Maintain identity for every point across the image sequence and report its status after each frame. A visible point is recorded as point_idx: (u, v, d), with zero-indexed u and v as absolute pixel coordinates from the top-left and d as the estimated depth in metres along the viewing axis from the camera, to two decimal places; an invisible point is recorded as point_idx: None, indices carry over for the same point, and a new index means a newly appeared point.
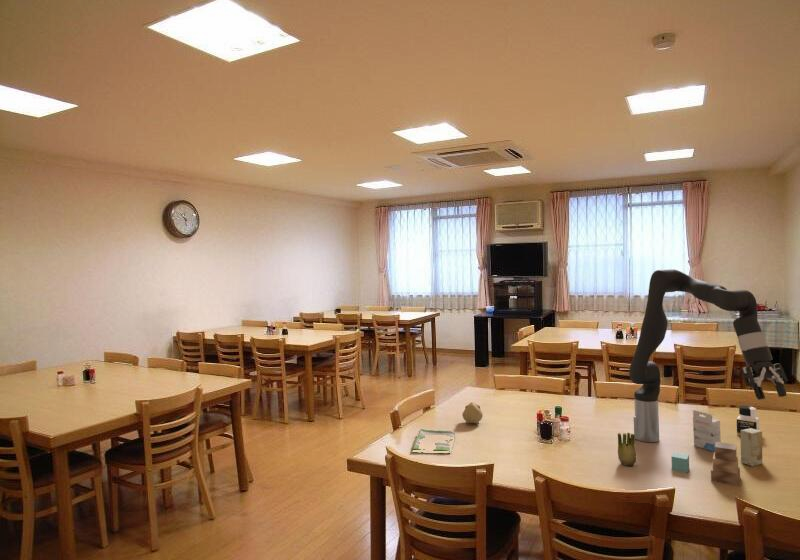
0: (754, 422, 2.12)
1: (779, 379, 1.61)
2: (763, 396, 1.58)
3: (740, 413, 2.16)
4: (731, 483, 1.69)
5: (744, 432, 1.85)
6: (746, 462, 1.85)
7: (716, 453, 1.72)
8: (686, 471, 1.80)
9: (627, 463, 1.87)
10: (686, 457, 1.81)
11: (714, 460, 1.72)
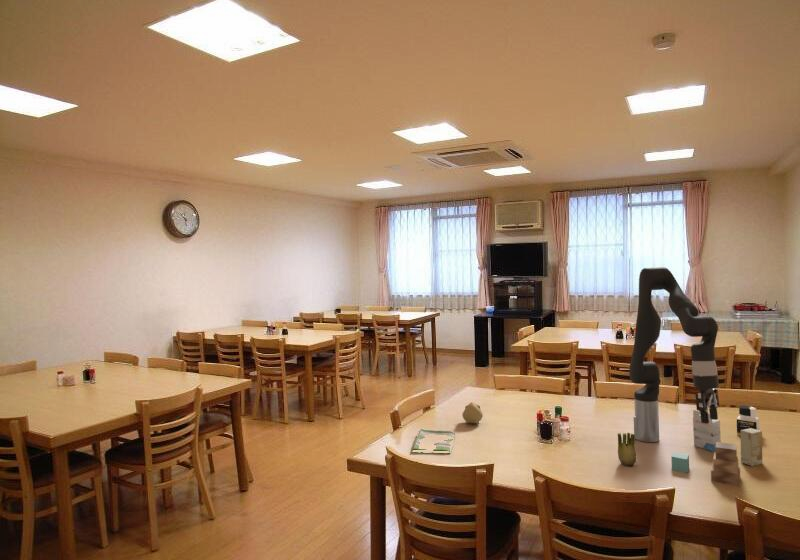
0: (754, 422, 2.12)
1: (716, 404, 1.75)
2: (708, 421, 1.69)
3: (740, 413, 2.16)
4: (731, 483, 1.69)
5: (744, 432, 1.85)
6: (746, 462, 1.85)
7: (717, 453, 1.72)
8: (686, 471, 1.80)
9: (627, 463, 1.87)
10: (686, 457, 1.81)
11: (714, 460, 1.72)
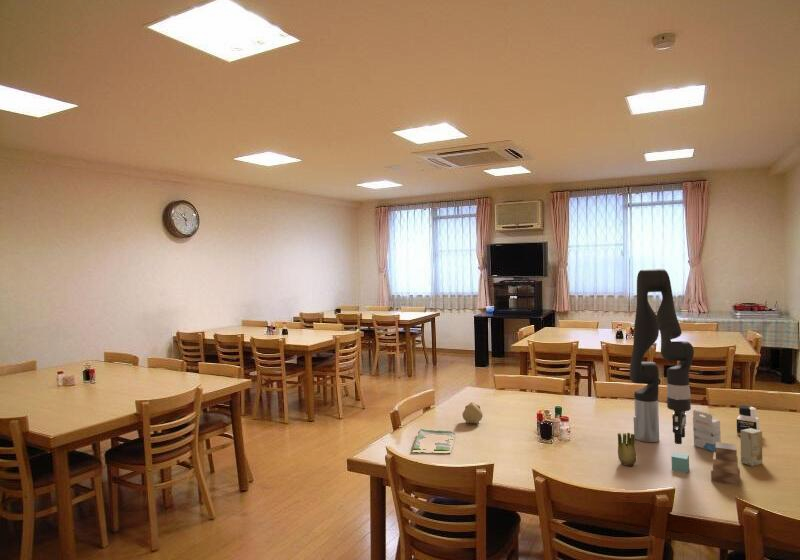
0: (754, 422, 2.12)
1: (684, 423, 1.85)
2: (681, 442, 1.79)
3: (740, 413, 2.16)
4: (731, 483, 1.69)
5: (744, 432, 1.85)
6: (746, 462, 1.85)
7: (717, 453, 1.72)
8: (686, 471, 1.80)
9: (627, 463, 1.87)
10: (686, 457, 1.81)
11: (714, 460, 1.72)
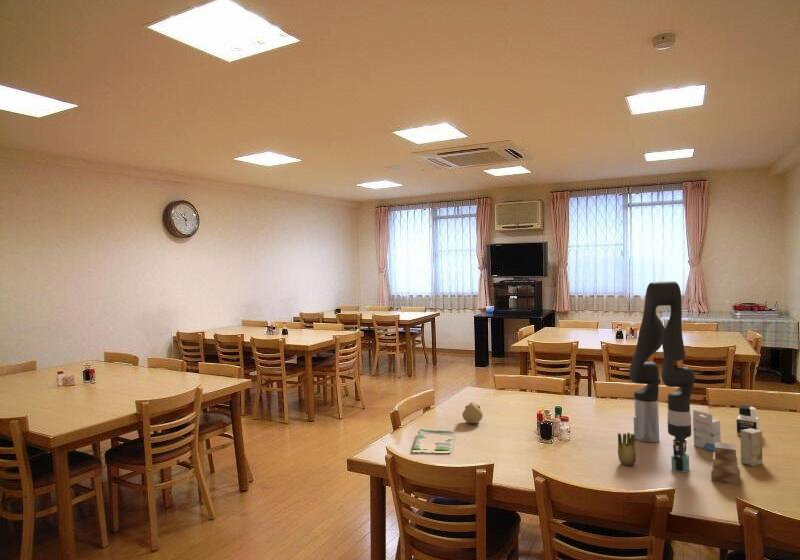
0: (754, 422, 2.12)
1: (684, 451, 1.85)
2: (682, 469, 1.80)
3: (740, 413, 2.16)
4: (731, 483, 1.69)
5: (744, 432, 1.85)
6: (746, 462, 1.85)
7: (716, 453, 1.72)
8: (686, 471, 1.80)
9: (627, 463, 1.87)
10: (686, 457, 1.81)
11: (714, 460, 1.72)
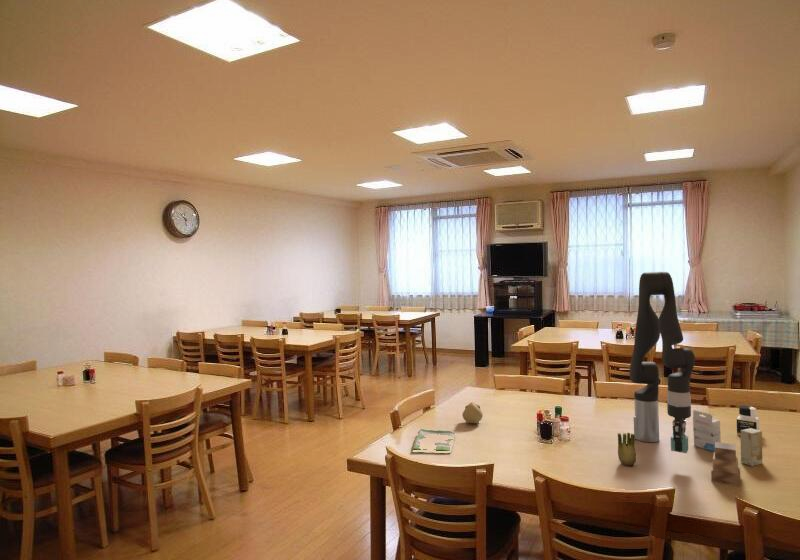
0: (754, 422, 2.12)
1: (684, 432, 1.85)
2: (681, 449, 1.81)
3: (740, 413, 2.16)
4: (731, 483, 1.69)
5: (744, 432, 1.85)
6: (746, 462, 1.85)
7: (716, 454, 1.72)
8: (685, 451, 1.80)
9: (627, 463, 1.87)
10: (685, 437, 1.81)
11: (714, 460, 1.72)
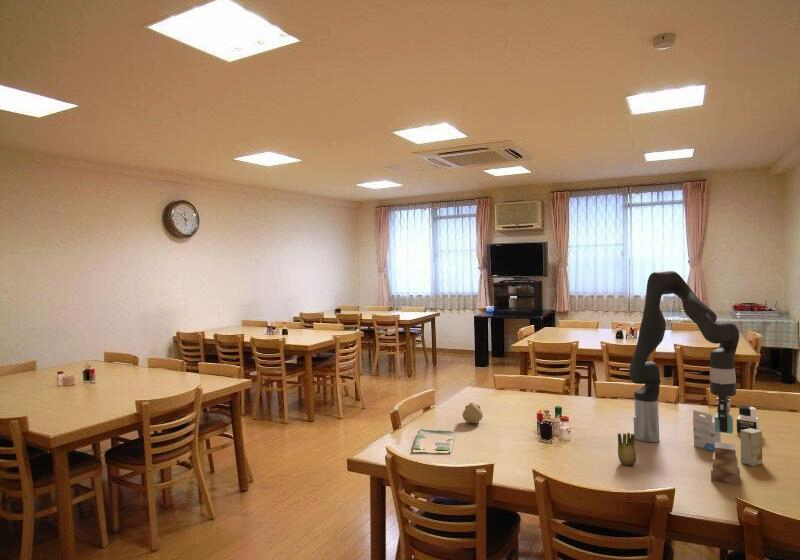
0: (754, 422, 2.12)
1: None
2: None
3: (740, 413, 2.16)
4: (731, 483, 1.69)
5: (744, 432, 1.85)
6: (746, 462, 1.85)
7: (716, 453, 1.72)
8: (731, 432, 1.70)
9: (627, 463, 1.87)
10: (730, 417, 1.71)
11: (714, 460, 1.72)
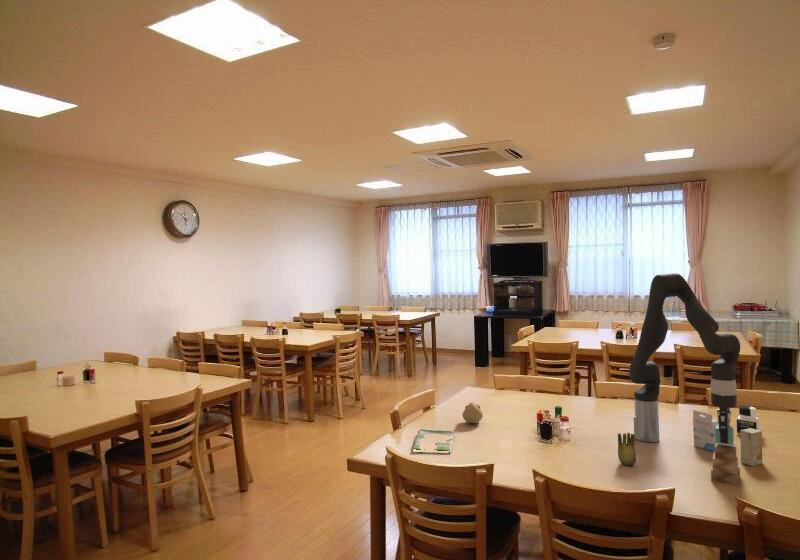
0: (754, 422, 2.12)
1: None
2: (727, 441, 1.70)
3: (740, 413, 2.16)
4: (731, 483, 1.69)
5: (744, 432, 1.85)
6: (746, 462, 1.85)
7: (716, 453, 1.72)
8: (731, 443, 1.70)
9: (627, 463, 1.87)
10: (731, 429, 1.71)
11: (714, 460, 1.72)
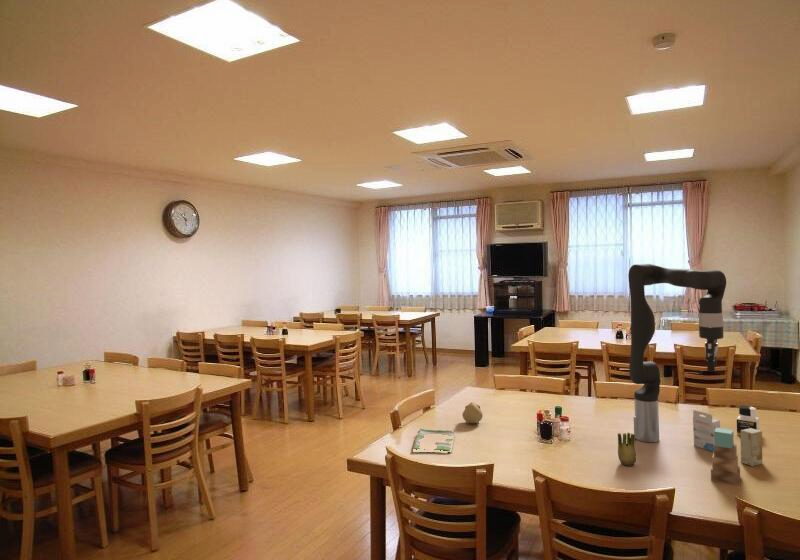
0: (754, 422, 2.12)
1: None
2: (714, 369, 1.79)
3: (740, 413, 2.16)
4: (731, 482, 1.70)
5: (744, 432, 1.85)
6: (746, 462, 1.85)
7: (715, 452, 1.73)
8: (730, 446, 1.70)
9: (627, 463, 1.87)
10: (730, 432, 1.72)
11: (713, 459, 1.73)
